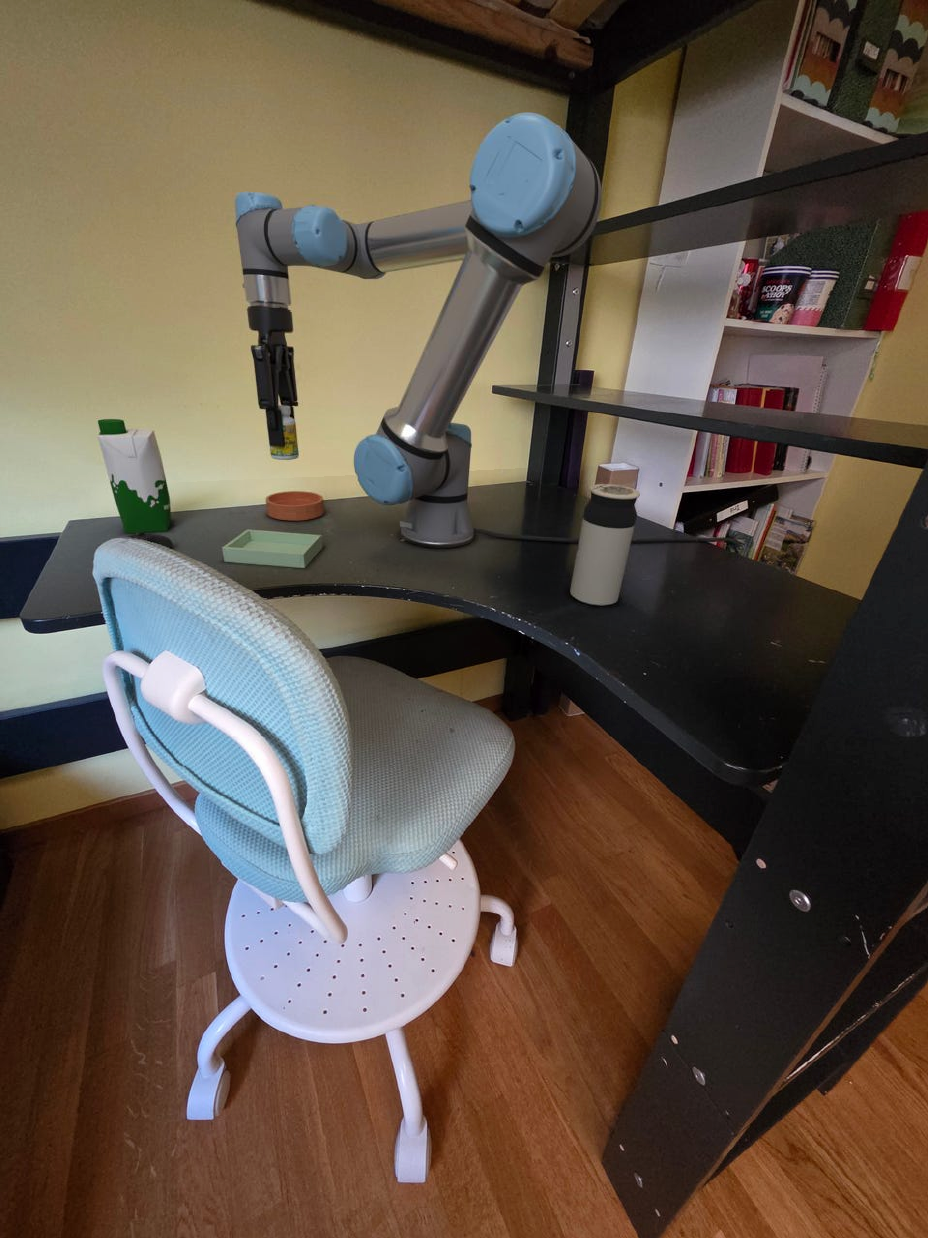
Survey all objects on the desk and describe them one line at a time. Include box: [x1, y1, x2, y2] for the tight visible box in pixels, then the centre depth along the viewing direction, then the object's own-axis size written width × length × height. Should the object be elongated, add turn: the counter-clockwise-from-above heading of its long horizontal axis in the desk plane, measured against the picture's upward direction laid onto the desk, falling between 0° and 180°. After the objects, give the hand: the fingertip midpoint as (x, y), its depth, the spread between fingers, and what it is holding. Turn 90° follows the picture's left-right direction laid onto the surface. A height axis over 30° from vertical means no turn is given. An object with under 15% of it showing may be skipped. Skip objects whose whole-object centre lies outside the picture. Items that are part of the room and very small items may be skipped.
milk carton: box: [97, 418, 172, 534], centre depth 97 cm, size 9×9×20 cm
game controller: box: [126, 532, 173, 549], centre depth 89 cm, size 10×5×6 cm
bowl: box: [265, 490, 325, 522], centre depth 115 cm, size 12×12×4 cm
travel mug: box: [569, 483, 641, 606], centre depth 82 cm, size 8×8×18 cm
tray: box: [221, 529, 323, 569], centre depth 93 cm, size 14×10×3 cm
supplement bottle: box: [266, 404, 300, 461], centre depth 100 cm, size 5×5×10 cm
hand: (283, 443), depth 101 cm, fingers closed on supplement bottle, 5 cm apart
